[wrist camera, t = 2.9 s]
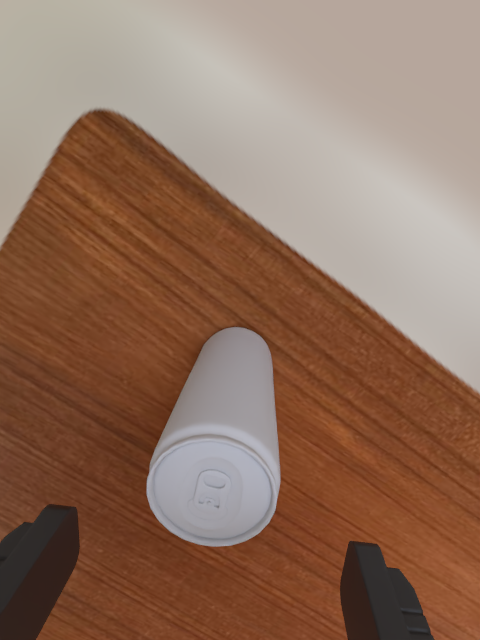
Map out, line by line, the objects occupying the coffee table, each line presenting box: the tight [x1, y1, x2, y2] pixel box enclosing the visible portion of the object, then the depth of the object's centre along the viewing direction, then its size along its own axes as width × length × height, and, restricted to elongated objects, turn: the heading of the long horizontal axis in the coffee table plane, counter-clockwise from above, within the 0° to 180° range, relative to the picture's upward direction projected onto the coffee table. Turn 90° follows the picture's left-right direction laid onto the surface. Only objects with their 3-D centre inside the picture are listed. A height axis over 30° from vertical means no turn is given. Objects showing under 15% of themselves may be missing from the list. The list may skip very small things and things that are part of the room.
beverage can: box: [147, 327, 280, 547], centre depth 18 cm, size 5×5×12 cm
